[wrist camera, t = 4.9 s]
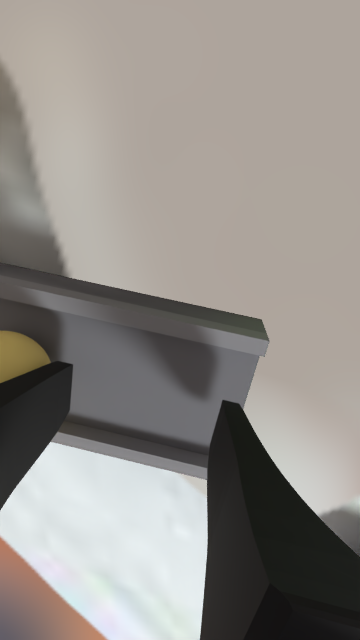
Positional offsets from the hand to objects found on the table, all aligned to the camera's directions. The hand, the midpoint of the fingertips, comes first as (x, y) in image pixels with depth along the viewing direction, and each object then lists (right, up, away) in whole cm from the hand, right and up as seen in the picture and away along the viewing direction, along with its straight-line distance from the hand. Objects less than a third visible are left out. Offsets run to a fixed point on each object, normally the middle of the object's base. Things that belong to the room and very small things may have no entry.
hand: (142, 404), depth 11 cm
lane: (-4, +2, +3) cm, 5 cm away
